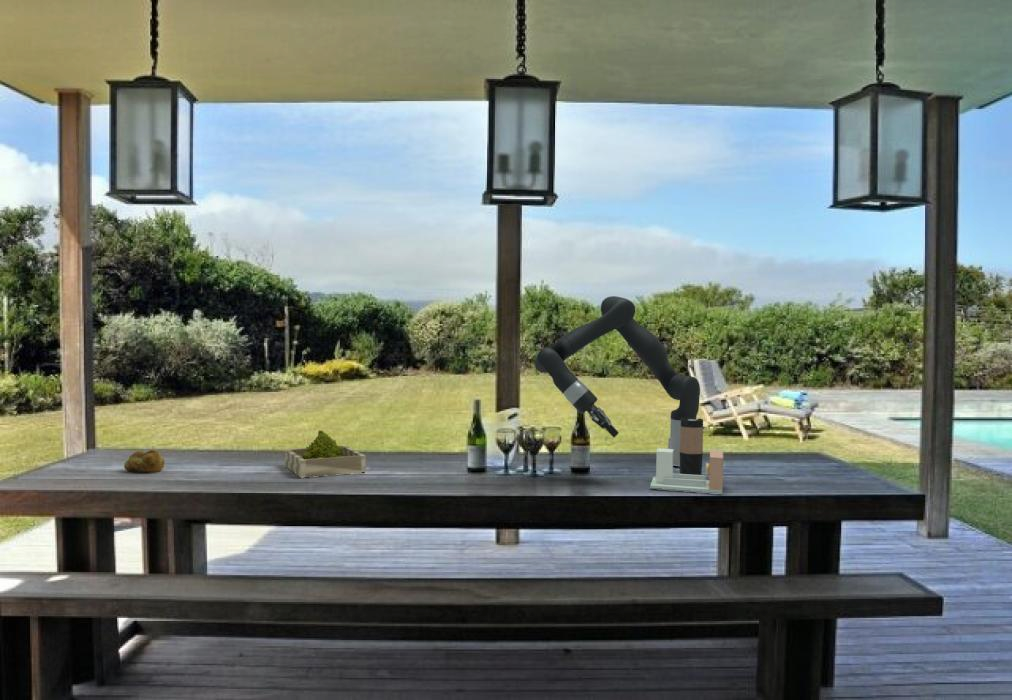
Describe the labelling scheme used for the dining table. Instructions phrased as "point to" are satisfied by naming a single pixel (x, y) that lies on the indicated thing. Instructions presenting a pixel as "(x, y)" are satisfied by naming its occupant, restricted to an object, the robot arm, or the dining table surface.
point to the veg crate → (325, 463)
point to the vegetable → (323, 448)
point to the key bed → (697, 477)
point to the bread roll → (145, 462)
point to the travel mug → (691, 446)
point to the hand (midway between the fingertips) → (616, 435)
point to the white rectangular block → (664, 464)
